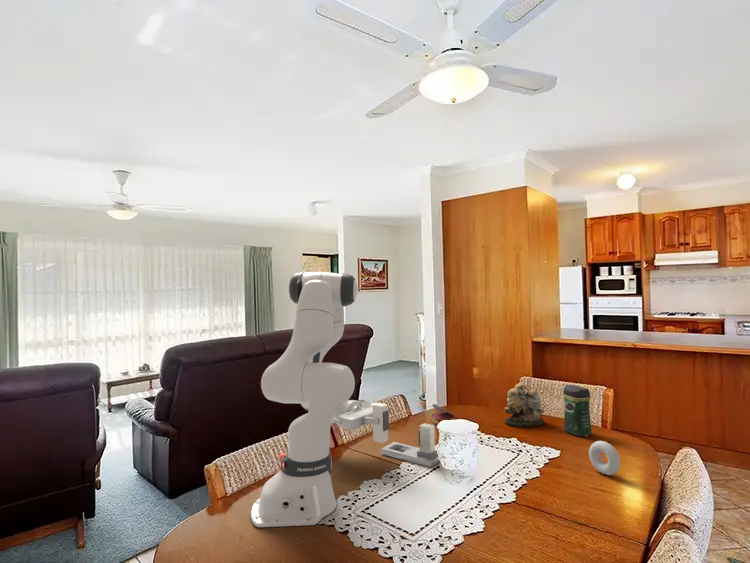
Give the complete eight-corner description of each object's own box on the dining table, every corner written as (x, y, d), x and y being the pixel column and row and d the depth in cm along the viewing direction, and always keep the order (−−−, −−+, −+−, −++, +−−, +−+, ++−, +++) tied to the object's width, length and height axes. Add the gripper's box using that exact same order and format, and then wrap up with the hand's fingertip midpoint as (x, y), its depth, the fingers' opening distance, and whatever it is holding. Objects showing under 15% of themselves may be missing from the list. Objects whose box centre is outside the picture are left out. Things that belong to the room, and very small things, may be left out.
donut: (623, 479, 127) (622, 446, 127) (615, 481, 125) (614, 448, 126) (594, 466, 136) (593, 435, 136) (586, 468, 135) (585, 437, 135)
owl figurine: (512, 430, 173) (510, 388, 173) (497, 421, 184) (496, 382, 184) (551, 425, 177) (549, 384, 177) (534, 417, 188) (532, 379, 188)
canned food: (433, 431, 187) (431, 408, 192) (456, 429, 185) (453, 406, 190) (431, 426, 177) (429, 402, 182) (455, 424, 176) (452, 400, 181)
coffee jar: (595, 435, 164) (594, 387, 164) (579, 438, 161) (578, 389, 161) (576, 428, 173) (574, 382, 173) (560, 430, 170) (559, 384, 170)
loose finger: (373, 440, 141) (372, 404, 141) (378, 438, 143) (377, 402, 144) (384, 443, 138) (383, 406, 139) (389, 441, 141) (388, 404, 141)
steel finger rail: (381, 454, 150) (380, 420, 150) (394, 447, 156) (393, 414, 157) (431, 467, 138) (430, 430, 138) (442, 459, 144) (441, 424, 145)
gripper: (330, 411, 141) (362, 418, 132) (367, 398, 157) (398, 403, 149) (330, 430, 141) (363, 438, 132) (368, 415, 157) (399, 421, 149)
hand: (382, 419), depth 141 cm, fingers closed on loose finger, 3 cm apart
